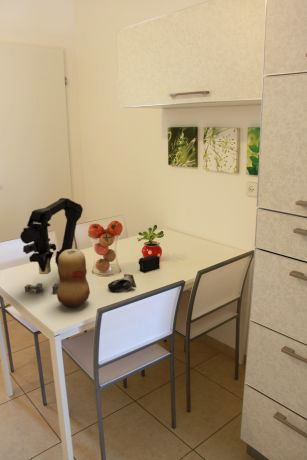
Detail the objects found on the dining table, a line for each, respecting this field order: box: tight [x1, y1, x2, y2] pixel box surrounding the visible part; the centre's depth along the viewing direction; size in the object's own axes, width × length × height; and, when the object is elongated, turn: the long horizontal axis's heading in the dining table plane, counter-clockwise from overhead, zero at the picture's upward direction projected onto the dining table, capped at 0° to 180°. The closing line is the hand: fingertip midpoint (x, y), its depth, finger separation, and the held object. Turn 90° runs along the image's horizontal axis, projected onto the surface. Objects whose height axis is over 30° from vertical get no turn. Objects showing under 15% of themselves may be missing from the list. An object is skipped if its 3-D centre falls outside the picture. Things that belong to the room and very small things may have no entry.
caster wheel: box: [107, 273, 137, 293], centre depth 183 cm, size 7×11×10 cm
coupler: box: [38, 258, 52, 275], centre depth 179 cm, size 4×4×6 cm
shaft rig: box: [23, 282, 60, 295], centre depth 182 cm, size 22×4×4 cm, turn 87°
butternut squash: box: [56, 248, 91, 308], centre depth 165 cm, size 14×13×25 cm
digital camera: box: [138, 254, 161, 274], centre depth 208 cm, size 10×5×7 cm, turn 127°
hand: (45, 269), depth 180 cm, fingers closed on coupler, 4 cm apart
